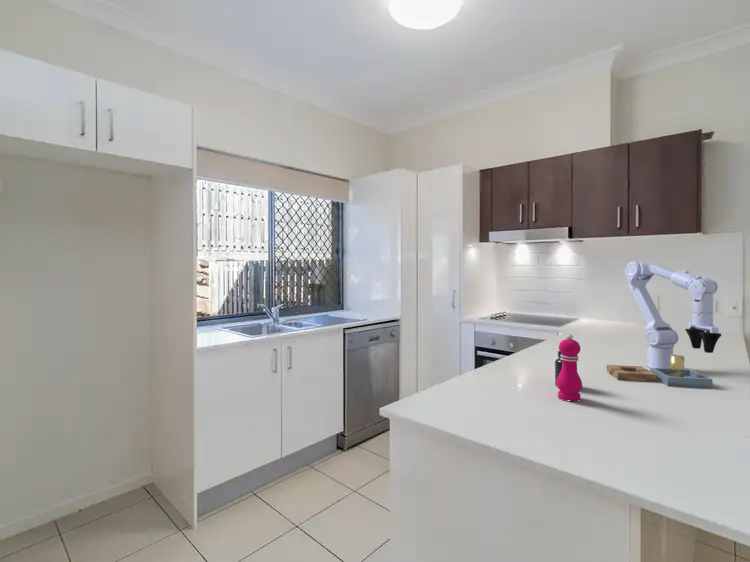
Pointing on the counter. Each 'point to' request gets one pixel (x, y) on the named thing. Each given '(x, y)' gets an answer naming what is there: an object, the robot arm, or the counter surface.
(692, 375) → the slate-blue tray
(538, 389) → the counter surface
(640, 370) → the walnut socket block
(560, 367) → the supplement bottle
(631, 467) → the counter surface
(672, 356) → the brass peg
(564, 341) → the pepper mill
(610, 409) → the counter surface
